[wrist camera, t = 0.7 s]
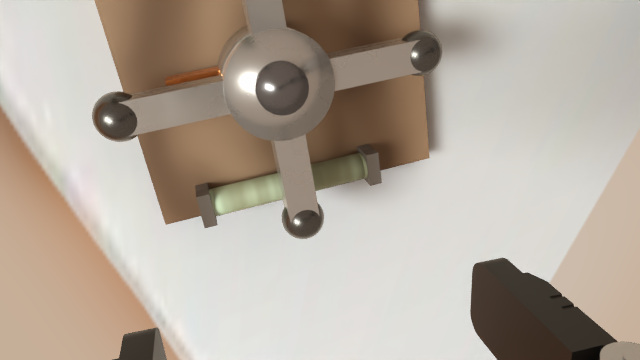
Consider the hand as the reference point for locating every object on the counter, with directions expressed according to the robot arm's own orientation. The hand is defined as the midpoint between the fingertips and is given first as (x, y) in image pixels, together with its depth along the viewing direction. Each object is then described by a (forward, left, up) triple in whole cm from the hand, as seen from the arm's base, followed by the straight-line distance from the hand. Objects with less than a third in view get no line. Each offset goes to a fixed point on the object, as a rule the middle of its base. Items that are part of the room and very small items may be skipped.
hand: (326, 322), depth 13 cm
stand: (-3, -2, -23) cm, 23 cm away
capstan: (-2, -2, -22) cm, 22 cm away
